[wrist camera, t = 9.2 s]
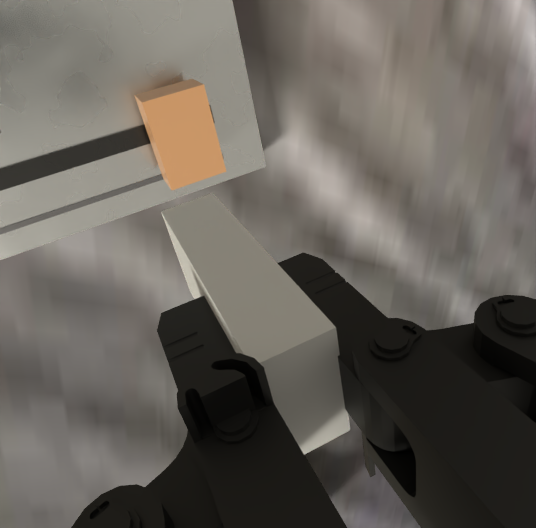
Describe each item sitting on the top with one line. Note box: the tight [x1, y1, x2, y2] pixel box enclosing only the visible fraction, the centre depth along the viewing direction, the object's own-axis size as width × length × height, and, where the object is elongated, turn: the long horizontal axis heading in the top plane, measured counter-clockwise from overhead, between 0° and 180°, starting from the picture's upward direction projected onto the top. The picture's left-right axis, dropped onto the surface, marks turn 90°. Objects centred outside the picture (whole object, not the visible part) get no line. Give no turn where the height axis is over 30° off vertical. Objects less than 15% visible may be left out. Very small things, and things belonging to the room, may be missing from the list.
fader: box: [134, 79, 226, 190], centre depth 23 cm, size 3×4×3 cm
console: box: [0, 0, 266, 260], centre depth 21 cm, size 20×18×2 cm
